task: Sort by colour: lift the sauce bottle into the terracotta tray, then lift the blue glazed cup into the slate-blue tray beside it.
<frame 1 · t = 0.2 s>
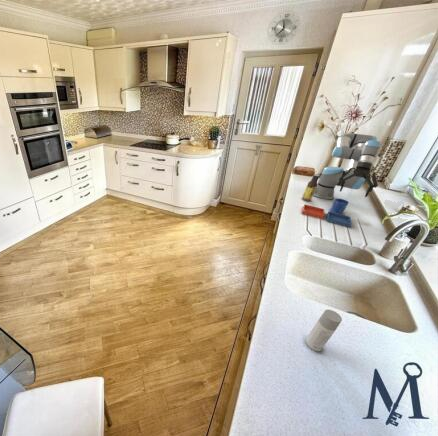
hand: (353, 193, 154), 15 cm above the worktop, tool tilted 35°, fingers open, 13 cm apart
blue cup: (336, 212, 163), on the worktop
blue tray: (337, 220, 153), on the worktop
red tray: (312, 212, 161), on the worktop
container: (313, 345, 78), on the worktop
sauce bottle: (306, 199, 180), on the worktop
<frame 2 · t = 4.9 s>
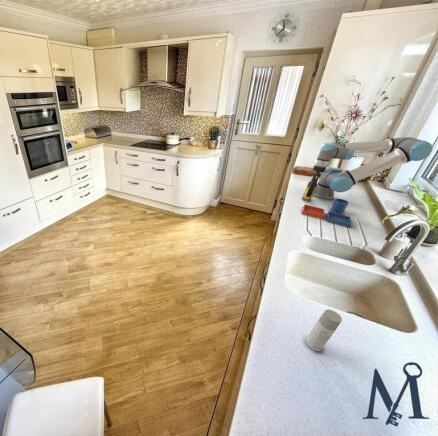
hand: (308, 195, 178), 4 cm above the worktop, tool pointing down, fingers closed on sauce bottle, 6 cm apart
sauce bottle: (306, 199, 180), on the worktop, touching gripper
everything else where it was.
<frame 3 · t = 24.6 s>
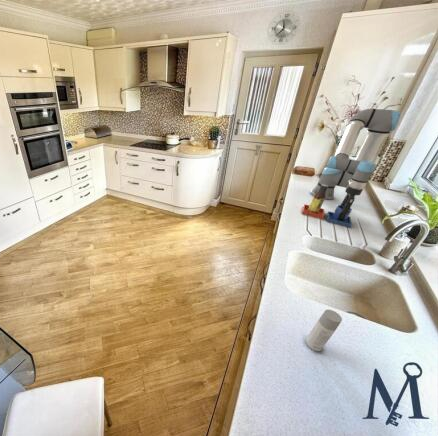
hand: (338, 219, 153), 1 cm above the worktop, tool pointing down, fingers closed on blue cup, 8 cm apart
blue cup: (338, 219, 153), point 1 cm above the worktop, touching gripper
sauce bottle: (312, 212, 161), resting on red tray
everything else where it was.
when the fingers open (3 cm above the worktop, at t = 32.9 s): blue cup stays where it is, resting on blue tray.
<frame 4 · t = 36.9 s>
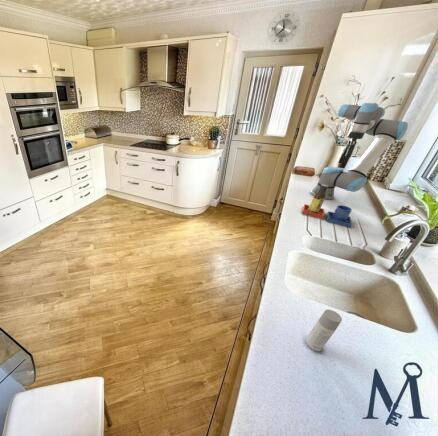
hand: (341, 165, 152), 32 cm above the worktop, tool pointing down, fingers open, 13 cm apart
blue cup: (338, 220, 153), resting on blue tray
everything else where it was.
at the end: sauce bottle inside the target area in the red tray (0.2 cm from its centre), point 0.3 cm above the red tray's base; sauce bottle tilted 0°; blue cup inside the target area in the blue tray (0.1 cm from its centre), point 0.5 cm above the blue tray's base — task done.
